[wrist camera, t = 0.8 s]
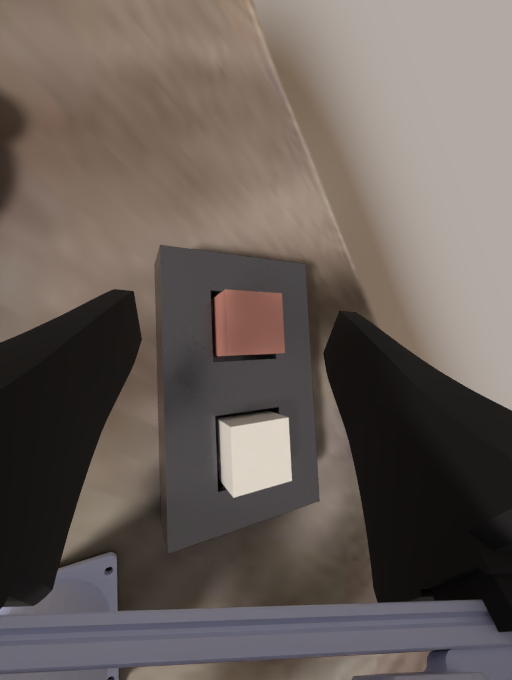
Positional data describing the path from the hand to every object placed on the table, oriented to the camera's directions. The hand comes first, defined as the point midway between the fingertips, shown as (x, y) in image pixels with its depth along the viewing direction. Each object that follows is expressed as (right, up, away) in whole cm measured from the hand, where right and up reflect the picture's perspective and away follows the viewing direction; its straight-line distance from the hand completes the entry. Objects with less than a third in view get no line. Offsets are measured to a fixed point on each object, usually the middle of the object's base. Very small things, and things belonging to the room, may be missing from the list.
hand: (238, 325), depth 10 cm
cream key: (0, -9, +11) cm, 14 cm away
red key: (-1, 0, +12) cm, 12 cm away
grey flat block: (-2, -4, +14) cm, 15 cm away
